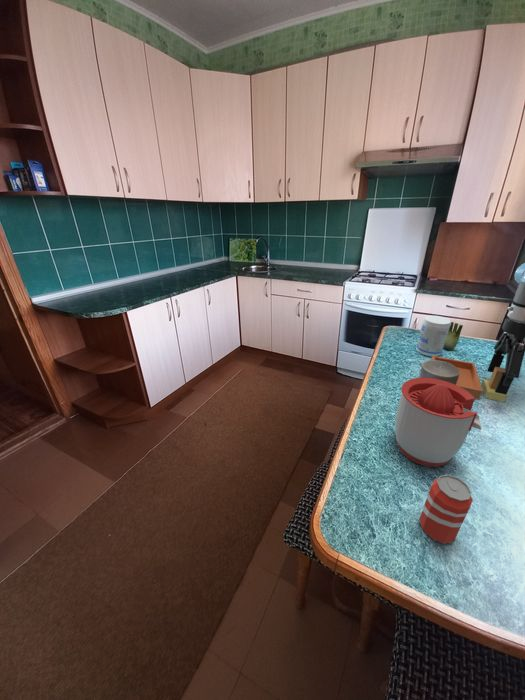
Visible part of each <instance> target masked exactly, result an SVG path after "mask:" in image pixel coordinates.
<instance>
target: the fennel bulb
mask: <svg viewBox="0 0 525 700" xmlns="http://www.w3.org/2000/svg"><path fill="white" fill-rule="evenodd" d="M463 327H464V325H463V324H459V323H458V322H454V321H451V324H450V328H449V331H448V334H447V337H446V341H445V344H444V347H443V350H444V349H445V350H447V351H452V350H454V349H456V347H457V345H458V343H459V340H460V337H461V333H462V330H463Z"/></svg>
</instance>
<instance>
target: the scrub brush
mask: <svg viewBox="0 0 525 700" xmlns="http://www.w3.org/2000/svg"><path fill="white" fill-rule="evenodd" d="M502 372H505V367H501V366H500V367H495V369H494V371H493V372H492V374H491V376H490V378H489V379H484V378H483V380H482V382H481V387H482V390H483V392H482V394H483V397H484V399H489V400H493V401H497V402H501V403H505V402H506V399H507V398H508V397H507V396H508V393H507V394H501V393H496V392H495V390H496V387H497V385H498V383H499V380H500V378H501V376H502V375H501V373H502Z"/></svg>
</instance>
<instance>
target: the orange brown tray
mask: <svg viewBox="0 0 525 700" xmlns="http://www.w3.org/2000/svg"><path fill="white" fill-rule="evenodd" d="M431 360H439V361H444V362H447V363H450V364H452V365H454V366H456V367H457V368H458V369H459V371H460V374H459V377H458V380H457V383H456V385H457V386H459V387H461V388H463V389H464V390H466V391H467V392H469V393H470V394H471V395H472V396H473V397H474V398H475V400H481V397H482V395H483V389H482V386H481V385H482V383H481V380H480V377H479V374H478V371H477V367H476V364H475V362H469V361H464V360H458V359H452V358H447V357H442V356H431Z"/></svg>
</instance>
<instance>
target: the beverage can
mask: <svg viewBox="0 0 525 700" xmlns="http://www.w3.org/2000/svg"><path fill="white" fill-rule="evenodd" d="M472 493H473V492H472V490H471V488H470V487H469V485H468V484H467V483H466V482H464V481H463V480H462V479H461V478H459V477H457V476H454V475H451V474H443V475H439V477H438V478H435V479H434V480H433V482H432V484H431V486H430V488H429V491H428V494H427V496H426V498H425V502H424V505H423V508H422V511H421V512H420V516H419V519H418V520H419V523H420V527H421V530H422V531H424V533H426V535H428V537H430V539H432V540H434V541H437V542H439V543H441V544H449V543H454V542H455V540H456V538H457V535H458V534H459V532H460V530H461V527H462V525H463V524H464V522H465V519H466V517H467V515H468V513H469V511H470V508H471V506H472V503H473V497H472Z"/></svg>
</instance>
